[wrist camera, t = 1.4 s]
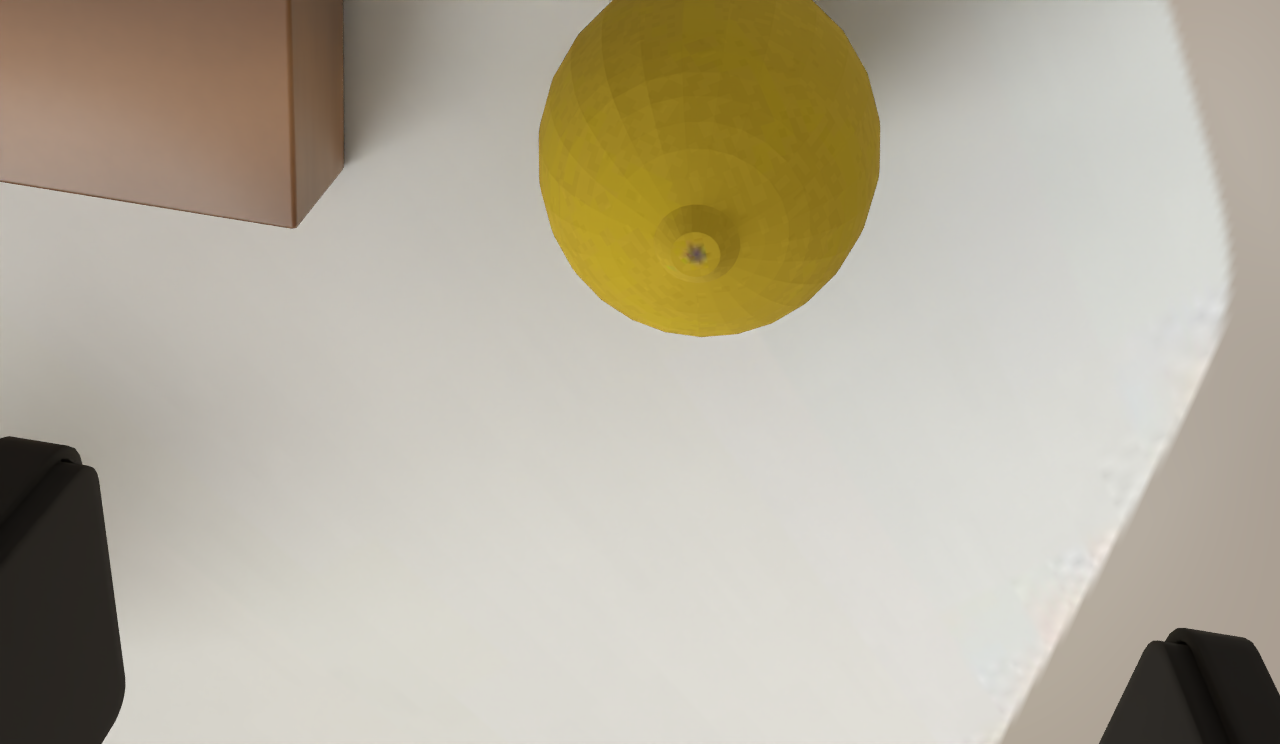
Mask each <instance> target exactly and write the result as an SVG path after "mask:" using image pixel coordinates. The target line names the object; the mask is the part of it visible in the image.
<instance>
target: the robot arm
mask: <svg viewBox="0 0 1280 744" xmlns="http://www.w3.org/2000/svg"><path fill="white" fill-rule="evenodd" d="M124 693H125V673H124V666H123V658H122V651H121V643H120V635H119V628H118V620H117V613H116V605H115V598H114V590H113V583H112V575H111V568H110V560H109V552H108V545H107V537H106V530H105V522H104V515H103V507H102V500H101V492H100V485H99V479H98V475H97V472H96V471H95V469H94V468H93V467H90V466H86V465H82V462H81V458H80V455H79V453H78V452H77V451H76V449H75V448H72V447H70V446H66V445H59V444H53V443H47V442H41V441H35V440H29V439H23V438H17V437H10V436H8V437H4V438H0V744H102V742H103V741H104V739H105V737H106V736H107V734H108V732H109V731H110V729H111V727H112V726H113V724H114V722H115V720H116V718H117V716H118V714H119V711H120V709H121V706H122V702H123V698H124ZM1099 744H1280V695H1279V693H1278V691H1277V689H1276V687H1275V685H1274V683H1273V681H1272V678H1271V676H1270V674H1269V672H1268V670H1267V668H1266V666H1265V664H1264V662H1263V660H1262V658H1261V656H1260V654H1259V652H1258V650H1257V649H1256V647H1255V646H1254V644H1253V643H1252V642H1251V641H1249V640H1247V639H1246V638H1243V637H1236V636H1230V635H1224V634H1218V633H1212V632H1206V631H1200V630H1194V629H1187V628H1177V629H1175V630H1174V631H1173V632H1171V633H1170V634H1169V636H1168V637H1167V639H1166V641H1165V642H1163V641H1152V642H1151V643H1149V644H1148V645H1147V647H1146V649H1145V650H1144V652H1143V654H1142V656H1141V658H1140V660H1139V662H1138V665H1137V666H1136V668H1135V670H1134V672H1133V674H1132V676H1131V678H1130V680H1129V683H1128V685H1127V687H1126V689H1125V691H1124V693H1123V695H1122V697H1121V699H1120V701H1119V703H1118V705H1117V707H1116V709H1115V712H1114V714H1113V716H1112V718H1111V720H1110V722H1109V724H1108V727H1107V728H1106V730H1105V732H1104V734H1103V736H1102V738H1101V741H1100V743H1099Z"/></svg>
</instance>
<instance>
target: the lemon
mask: <svg viewBox="0 0 1280 744" xmlns="http://www.w3.org/2000/svg"><path fill="white" fill-rule="evenodd" d="M879 169H880V120H879V116H878V112H877V108H876V104H875V101H874V97H873V93H872V89H871V85H870V81H869V77H868V74H867V72H866V70H865V68H864V66H863V65H862V63H861V61H860V59H859V58H858V56H857V54H856V52H855V51H854V49H853V47H852V45H851V44H850V42H849V40H848V38H847V37H846V35H845V33H844V31H843V30H842V29H841V28H840V27H839V26H838V25H837V24H836V23H835V22H834V21H833V20H832V19H831V18H830V17H829V16H828V15H827V14H826V13H825V12H824V11H823V10H822V9H821V8H820V7H818V6H817V5H816V4H815V3H814V2H813V1H812V0H613V1H611V2H610V3H609V4H608V5H607V6H606V7H605V8H604V9H603V10H602V11H601V12H600V13H599V14H598V15H597V16H596V17H595V18H594V19H593V20H592V21H591V22H590V23H589V24H588V25H587V26H586V27H585V28H584V29H583V30H582V31H581V32H580V33H579V34H578V36H577V38H576V39H575V41H574V43H573V44H572V46H571V48H570V50H569V51H568V53H567V55H566V57H565V58H564V60H563V62H562V63H561V65H560V67H559V69H558V70H557V72H556V74H555V75H554V77H553V80H552V83H551V86H550V90H549V94H548V97H547V101H546V105H545V109H544V112H543V116H542V120H541V123H540V129H539V180H540V187H541V192H542V196H543V200H544V203H545V207H546V211H547V214H548V218H549V221H550V225H551V229H552V231H553V234H554V237H555V238H556V240H557V242H558V244H559V245H560V247H561V249H562V251H563V252H564V254H565V256H566V258H567V260H568V261H569V263H570V265H571V267H572V268H573V270H574V271H575V272H576V274H577V275H578V276H579V277H580V278H581V279H582V280H583V281H584V282H585V283H586V284H587V285H588V286H589V287H590V288H591V289H592V290H593V291H594V292H595V294H596V295H597V296H598V297H599V298H600V299H601V300H603V301H604V302H606V303H607V304H609V305H610V306H612V307H613V308H615V309H616V310H618V311H619V312H621V313H623V314H624V315H626V316H627V317H629V318H630V319H632V320H635V321H637V322H640V323H643V324H645V325H648V326H651V327H653V328H656V329H659V330H661V331H664V332H669V333H676V334H683V335H691V336H698V337H707V336H719V335H730V334H739V333H742V332H745V331H749V330H752V329H755V328H758V327H761V326H765V325H768V324H771V323H773V322H775V321H777V320H778V319H780V318H782V317H783V316H785V315H787V314H789V313H790V312H792V311H794V310H795V309H797V308H799V307H800V306H802V305H804V304H805V303H806V302H807V301H809V300H810V299H811V298H812V297H813V296H814V295H815V294H816V293H817V292H818V291H819V290H820V289H821V288H822V287H823V286H824V285H825V284H826V283H827V282H828V281H829V280H830V279H831V278H832V277H833V276H834V275H835V274H836V273H837V271H838V270H839V269H840V267H841V265H842V264H843V262H844V261H845V259H846V257H847V256H848V254H849V252H850V251H851V249H852V248H853V246H854V244H855V243H856V241H857V239H858V238H859V236H860V234H861V232H862V230H863V228H864V226H865V222H866V219H867V216H868V212H869V209H870V206H871V202H872V199H873V196H874V192H875V189H876V185H877V182H878V178H879Z"/></svg>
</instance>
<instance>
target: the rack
mask: <svg viewBox="0 0 1280 744" xmlns="http://www.w3.org/2000/svg"><path fill="white" fill-rule="evenodd" d="M343 168H344V104H343V0H0V182H5V183H12V184H18V185H24V186H30V187H37V188H43V189H49V190H55V191H61V192H68V193H74V194H80V195H86V196H92V197H99V198H105V199H111V200H117V201H124V202H130V203H136V204H142V205H148V206H155V207H161V208H167V209H173V210H180V211H186V212H192V213H198V214H204V215H211V216H217V217H223V218H229V219H235V220H242V221H248V222H254V223H260V224H267V225H273V226H279V227H285V228H291V229H292V228H297V226H298V225H299V224H300V223H301V221H302V220H303V219H304V218H305V216H306V215H307V214H308V213H309V211H310V210H311V209H312V208H313V206H314V205H315V204H316V203H317V201H318V200H319V199H320V198H321V196H322V195H323V194H324V192H325V191H326V190H327V189H328V187H329V186H330V185H331V184H332V182H333V181H334V180H335V179H336V177H337V176H338V175H339V174H340V172H341V171H342V170H343Z"/></svg>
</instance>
